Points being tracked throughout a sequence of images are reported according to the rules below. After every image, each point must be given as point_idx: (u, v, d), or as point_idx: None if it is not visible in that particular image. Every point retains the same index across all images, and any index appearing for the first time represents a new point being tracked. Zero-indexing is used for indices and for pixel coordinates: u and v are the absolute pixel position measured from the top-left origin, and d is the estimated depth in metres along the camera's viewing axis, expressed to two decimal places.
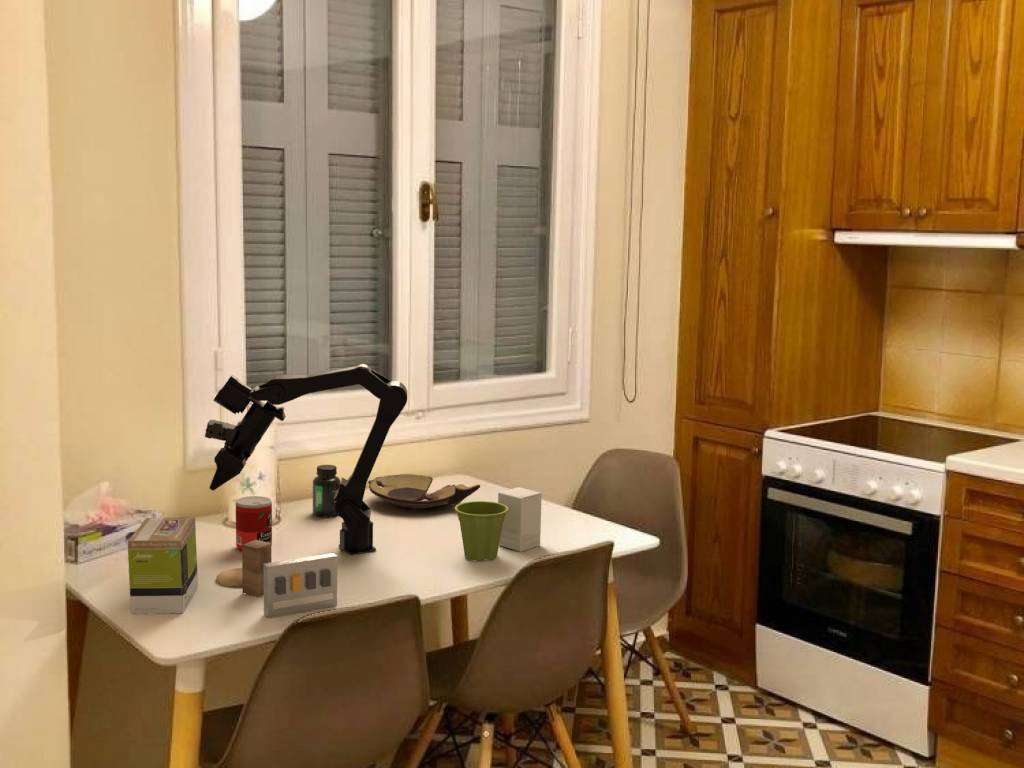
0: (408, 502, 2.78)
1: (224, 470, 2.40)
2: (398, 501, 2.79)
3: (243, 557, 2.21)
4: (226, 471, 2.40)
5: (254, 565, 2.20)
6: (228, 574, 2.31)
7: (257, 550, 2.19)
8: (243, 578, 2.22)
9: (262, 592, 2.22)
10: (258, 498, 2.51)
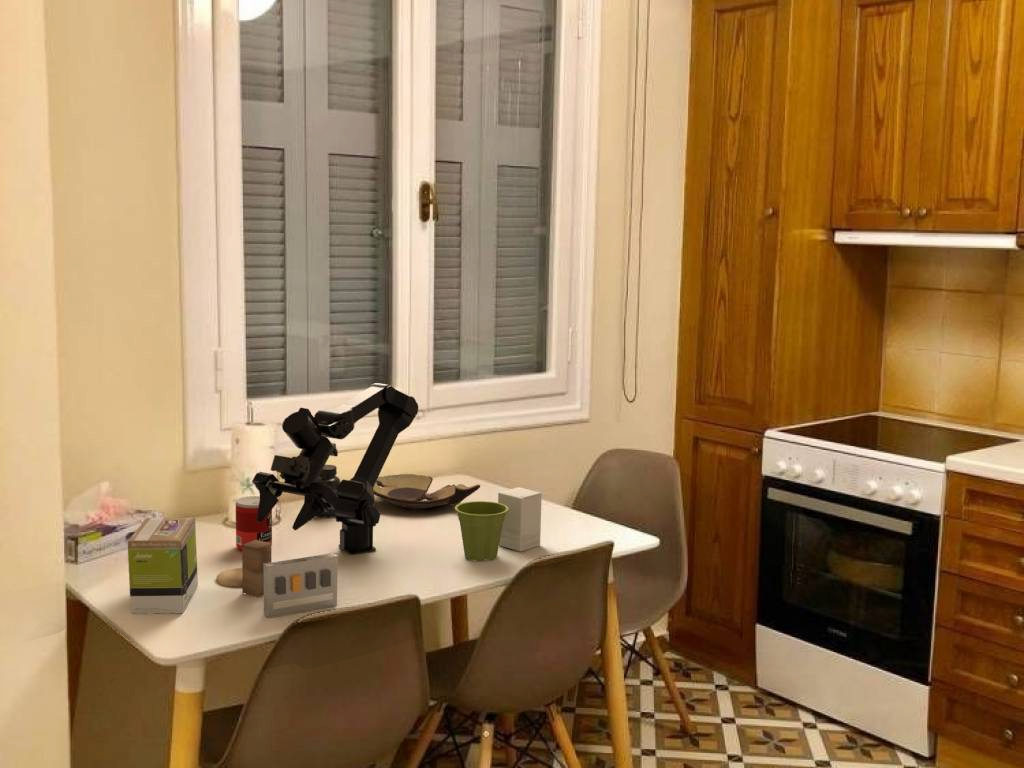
0: (408, 502, 2.78)
1: (310, 507, 2.26)
2: (398, 501, 2.79)
3: (243, 557, 2.21)
4: (312, 508, 2.27)
5: (254, 565, 2.20)
6: (228, 574, 2.31)
7: (257, 550, 2.19)
8: (243, 578, 2.22)
9: (262, 592, 2.22)
10: (258, 498, 2.51)
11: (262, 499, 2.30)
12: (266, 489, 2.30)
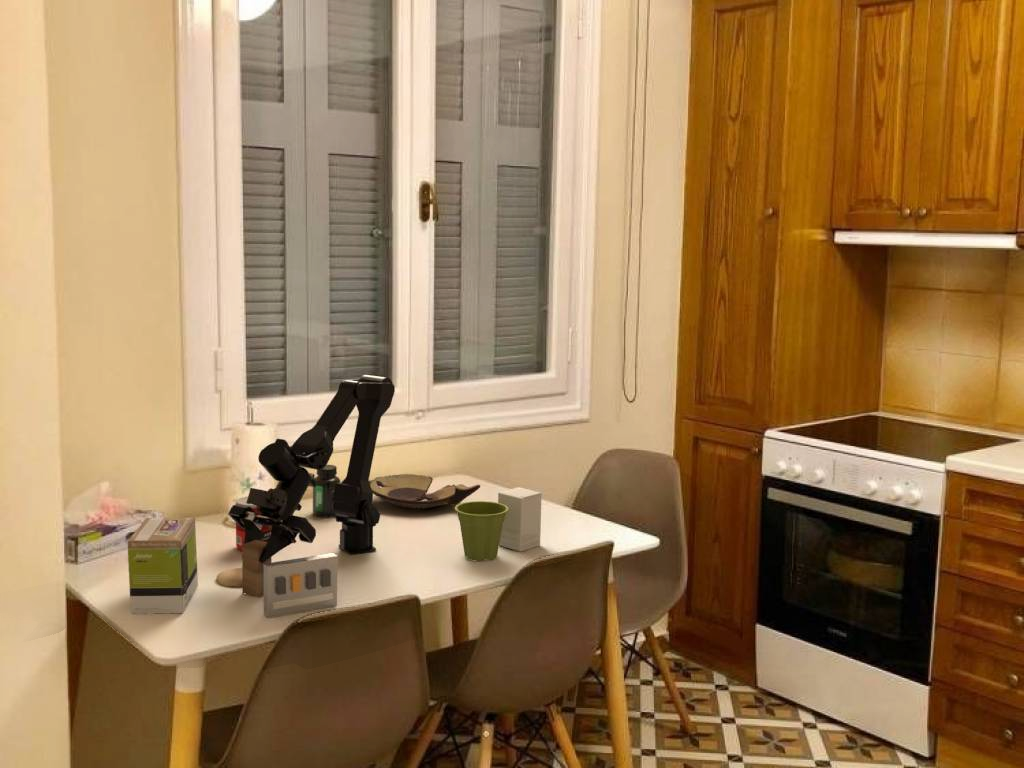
0: (408, 502, 2.78)
1: (278, 539, 2.22)
2: (398, 501, 2.79)
3: (243, 557, 2.21)
4: (279, 540, 2.22)
5: (254, 565, 2.20)
6: (228, 574, 2.31)
7: (257, 550, 2.19)
8: (243, 578, 2.22)
9: (262, 592, 2.22)
10: None
11: (248, 534, 2.23)
12: (252, 524, 2.24)
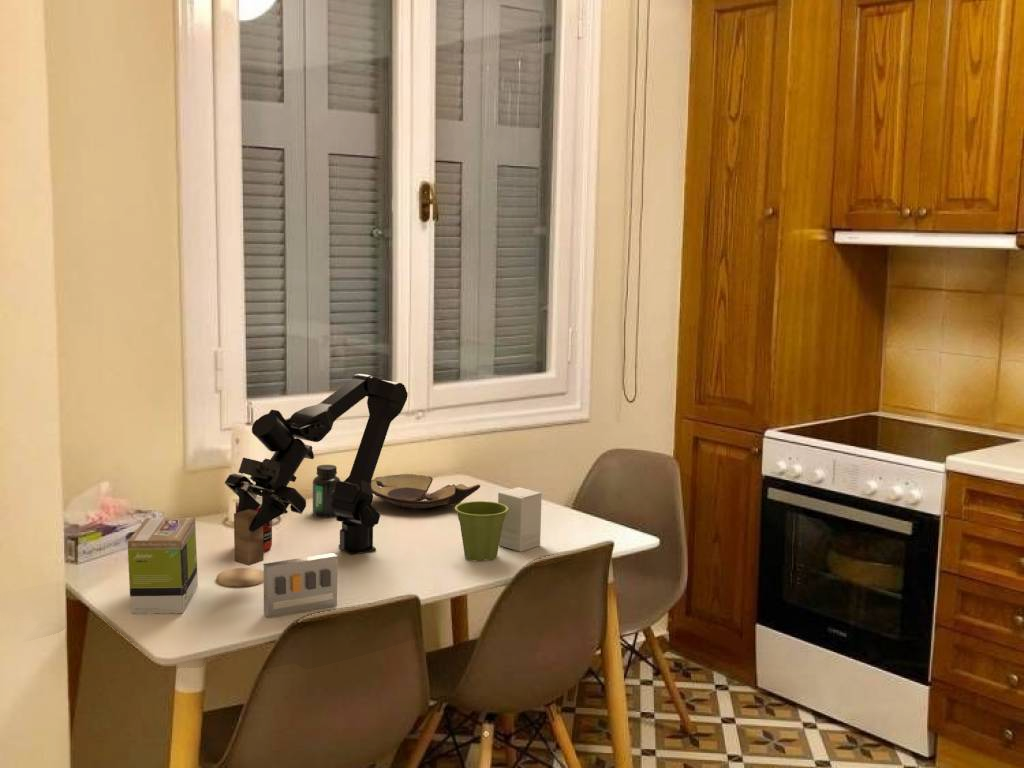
0: (408, 502, 2.78)
1: (269, 509, 2.24)
2: (398, 501, 2.79)
3: (235, 525, 2.24)
4: (270, 510, 2.24)
5: (244, 534, 2.22)
6: (228, 574, 2.31)
7: (247, 518, 2.21)
8: (235, 546, 2.25)
9: (253, 561, 2.24)
10: (258, 498, 2.51)
11: (241, 503, 2.26)
12: (245, 493, 2.26)
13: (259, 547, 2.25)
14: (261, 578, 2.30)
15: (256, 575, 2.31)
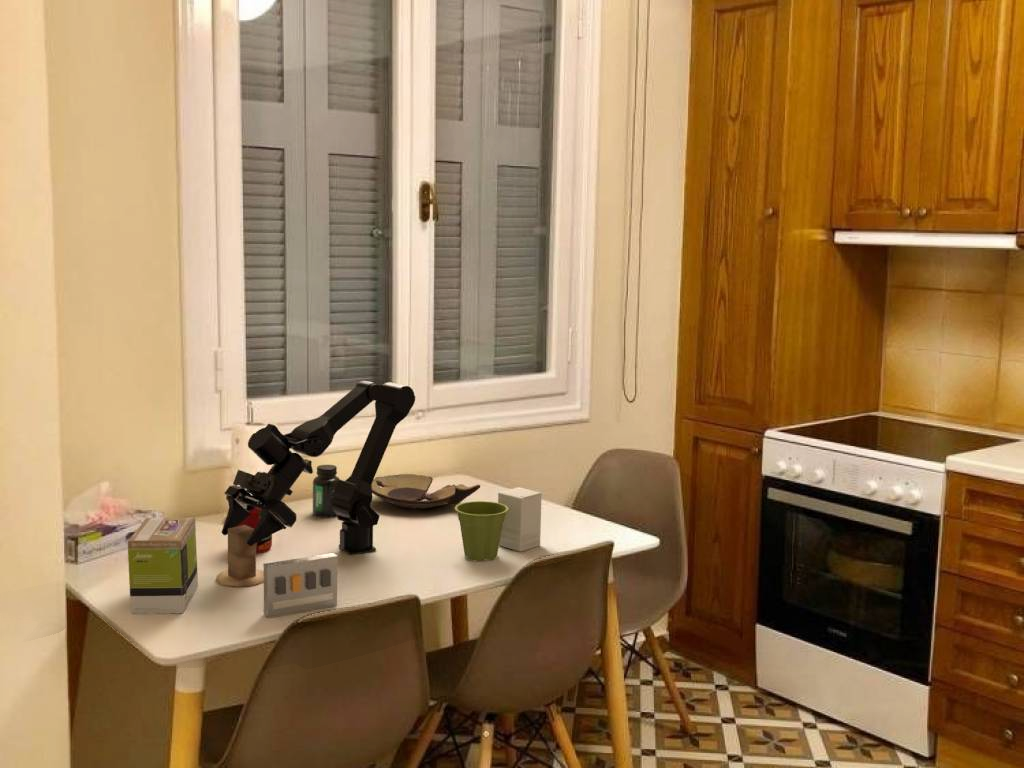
0: (408, 502, 2.78)
1: (268, 524, 2.27)
2: (398, 501, 2.79)
3: (228, 540, 2.29)
4: (269, 525, 2.27)
5: (236, 549, 2.27)
6: None
7: (238, 534, 2.26)
8: (228, 561, 2.30)
9: (244, 576, 2.29)
10: None
11: (230, 512, 2.33)
12: (234, 502, 2.33)
13: (251, 562, 2.29)
14: (261, 578, 2.30)
15: (256, 575, 2.31)
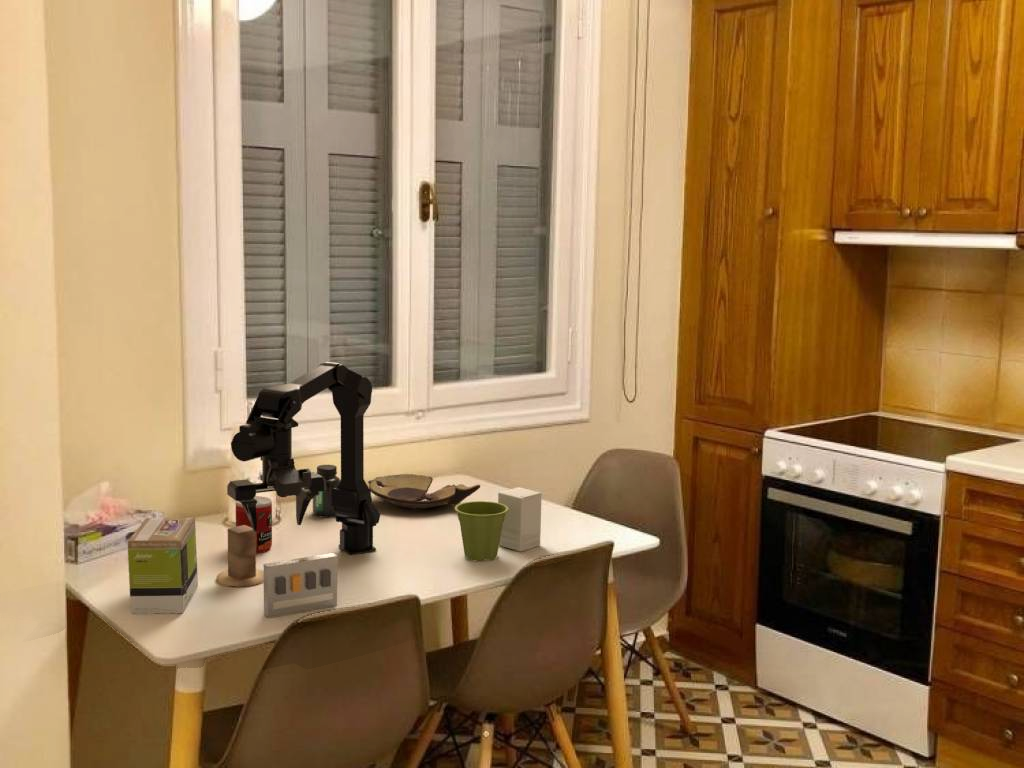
0: (408, 502, 2.78)
1: None
2: (398, 501, 2.79)
3: (228, 540, 2.29)
4: None
5: (236, 549, 2.27)
6: None
7: (238, 534, 2.26)
8: (228, 561, 2.30)
9: (244, 576, 2.29)
10: (258, 498, 2.51)
11: (253, 511, 2.21)
12: None
13: (251, 562, 2.29)
14: (261, 578, 2.30)
15: (256, 575, 2.31)
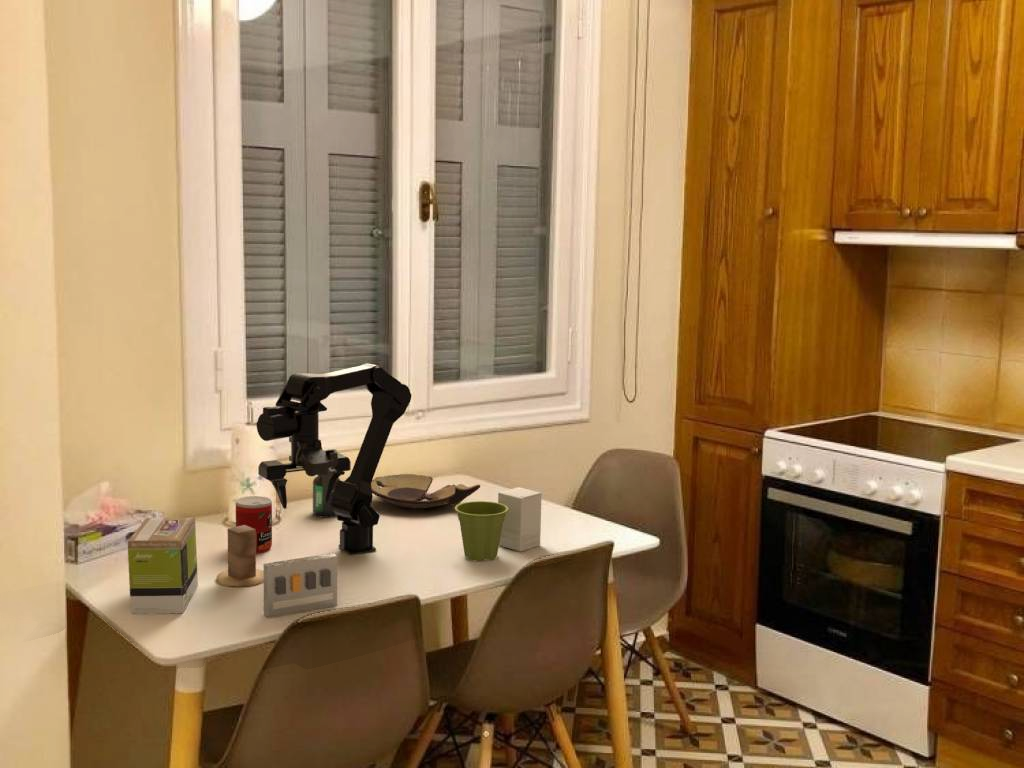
0: (408, 502, 2.78)
1: None
2: (398, 501, 2.79)
3: (228, 540, 2.29)
4: None
5: (236, 549, 2.27)
6: None
7: (238, 534, 2.26)
8: (228, 561, 2.30)
9: (244, 576, 2.29)
10: (258, 498, 2.51)
11: (283, 489, 2.34)
12: None
13: (251, 562, 2.29)
14: (261, 578, 2.30)
15: (256, 575, 2.31)
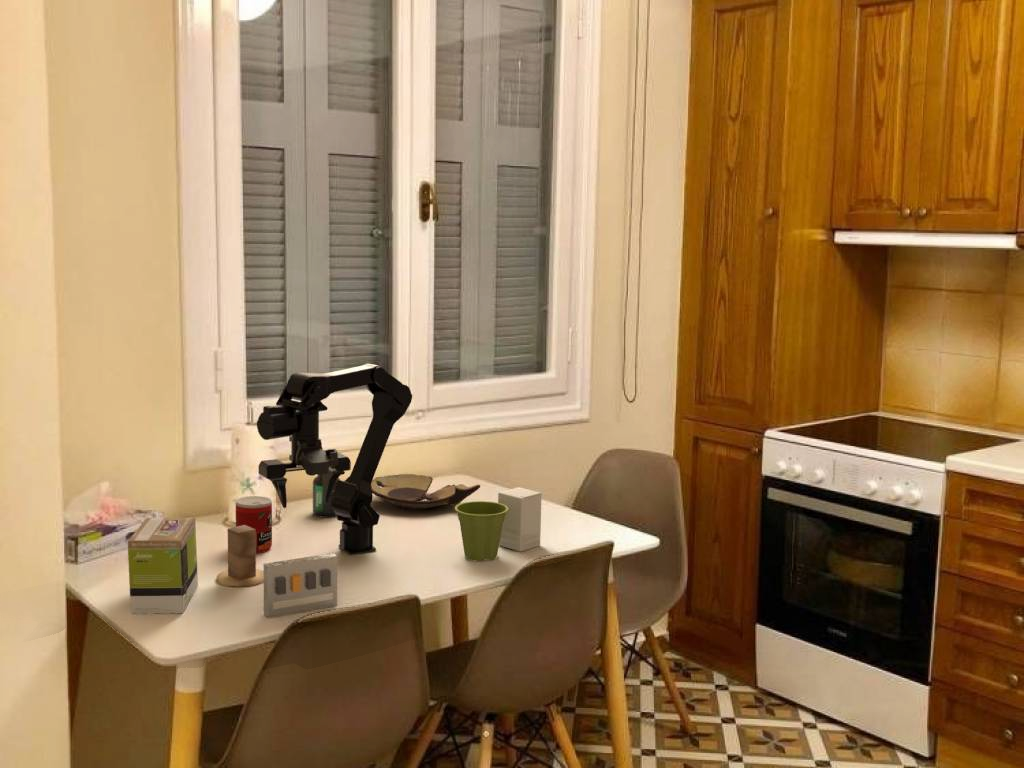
0: (408, 502, 2.78)
1: None
2: (398, 501, 2.79)
3: (228, 540, 2.29)
4: None
5: (236, 549, 2.27)
6: None
7: (238, 534, 2.26)
8: (228, 561, 2.30)
9: (244, 576, 2.29)
10: (258, 498, 2.51)
11: (283, 488, 2.34)
12: None
13: (251, 562, 2.29)
14: (261, 578, 2.30)
15: (256, 575, 2.31)
